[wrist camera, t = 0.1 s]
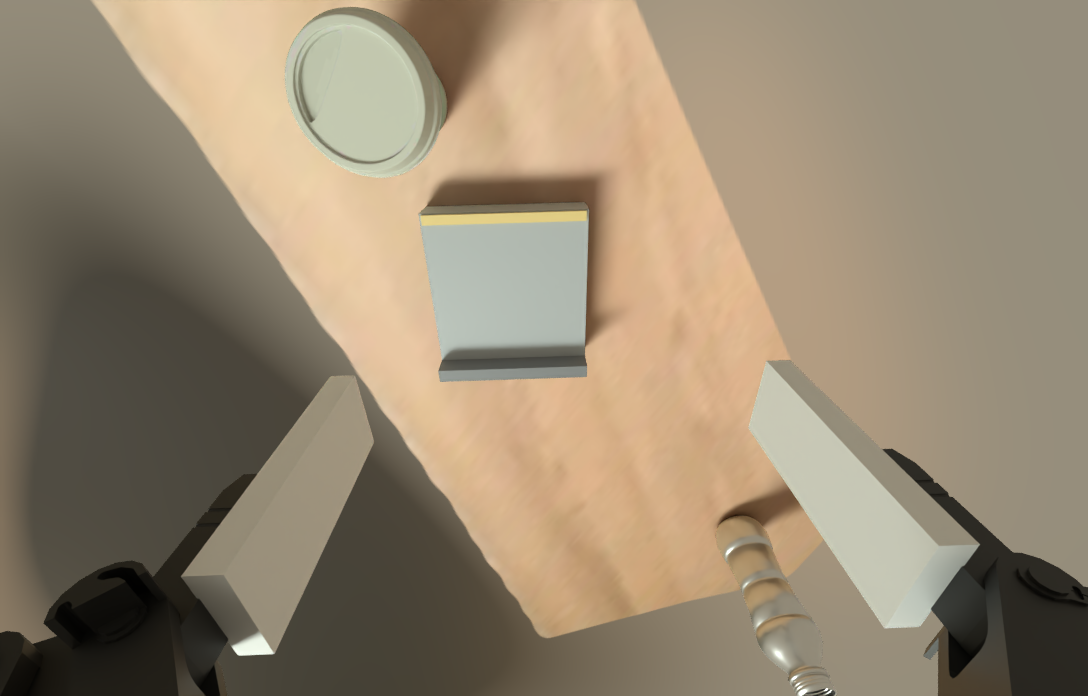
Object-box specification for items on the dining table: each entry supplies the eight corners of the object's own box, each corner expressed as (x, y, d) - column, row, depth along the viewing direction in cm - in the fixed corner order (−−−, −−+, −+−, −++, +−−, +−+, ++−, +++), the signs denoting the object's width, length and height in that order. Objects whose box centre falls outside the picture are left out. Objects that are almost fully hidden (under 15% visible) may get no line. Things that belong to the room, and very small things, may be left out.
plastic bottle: (757, 536, 61) (847, 707, 44) (709, 542, 61) (780, 714, 44) (760, 505, 58) (860, 677, 40) (710, 512, 58) (787, 684, 41)
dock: (426, 206, 38) (412, 219, 33) (584, 201, 38) (591, 214, 33) (448, 355, 45) (440, 381, 41) (581, 350, 45) (586, 376, 41)
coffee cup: (426, 10, 31) (372, -39, 21) (484, 130, 35) (464, 139, 24) (331, 71, 33) (237, 54, 22) (396, 178, 36) (343, 207, 26)
